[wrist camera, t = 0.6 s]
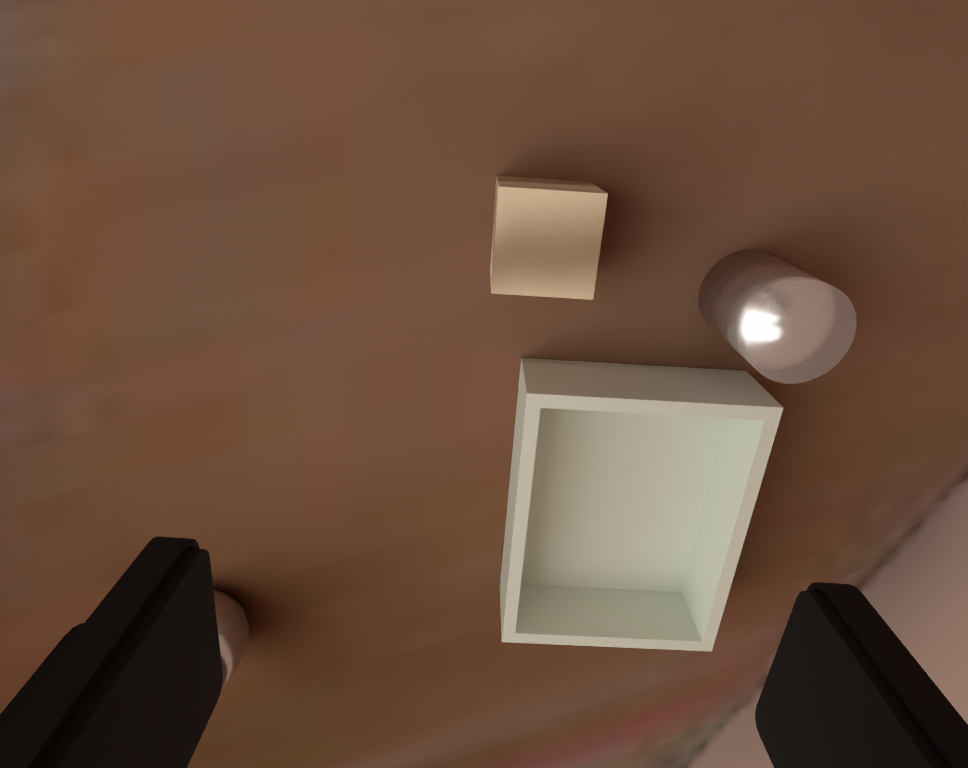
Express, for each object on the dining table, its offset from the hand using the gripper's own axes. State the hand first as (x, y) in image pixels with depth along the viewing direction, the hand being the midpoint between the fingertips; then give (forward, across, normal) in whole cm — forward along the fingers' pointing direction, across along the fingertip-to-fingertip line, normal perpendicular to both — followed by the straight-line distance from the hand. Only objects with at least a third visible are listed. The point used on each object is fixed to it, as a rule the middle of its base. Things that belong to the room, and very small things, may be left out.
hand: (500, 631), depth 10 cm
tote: (+27, -9, +14) cm, 32 cm away
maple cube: (+27, -2, -2) cm, 27 cm away
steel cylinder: (+27, -15, 0) cm, 30 cm away
